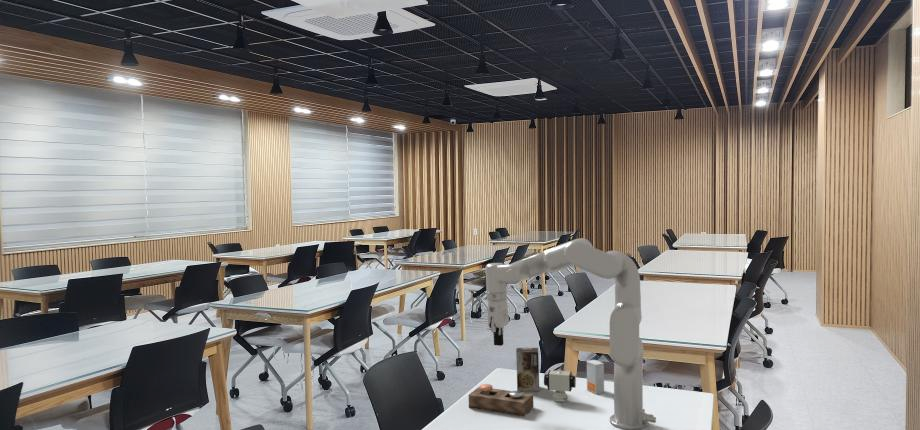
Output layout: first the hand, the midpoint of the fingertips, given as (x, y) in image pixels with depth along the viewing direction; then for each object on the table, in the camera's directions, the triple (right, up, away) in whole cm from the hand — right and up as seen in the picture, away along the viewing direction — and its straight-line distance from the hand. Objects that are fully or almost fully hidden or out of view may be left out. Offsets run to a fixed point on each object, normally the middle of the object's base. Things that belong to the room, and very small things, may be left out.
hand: (498, 344), depth 226 cm
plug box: (+1, -24, 0) cm, 24 cm away
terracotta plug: (-5, -21, +2) cm, 22 cm away
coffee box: (+13, -23, +21) cm, 33 cm away
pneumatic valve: (+24, -23, +6) cm, 34 cm away
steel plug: (+6, -22, -3) cm, 23 cm away
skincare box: (+40, -22, +15) cm, 48 cm away
